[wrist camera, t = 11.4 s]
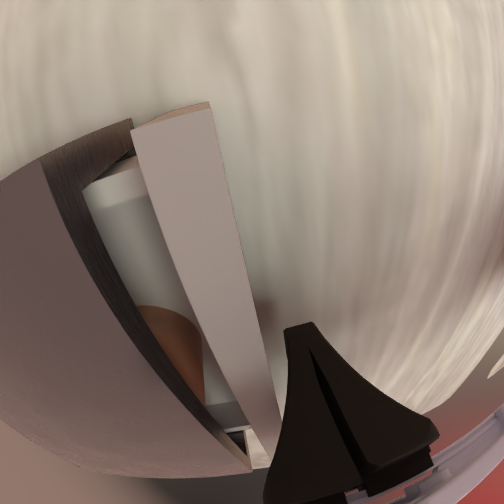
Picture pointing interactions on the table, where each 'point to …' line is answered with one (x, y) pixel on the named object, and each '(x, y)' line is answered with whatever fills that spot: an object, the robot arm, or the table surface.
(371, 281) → the table surface
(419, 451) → the robot arm
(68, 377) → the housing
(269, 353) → the table surface
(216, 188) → the tray
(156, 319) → the orange rounded part
